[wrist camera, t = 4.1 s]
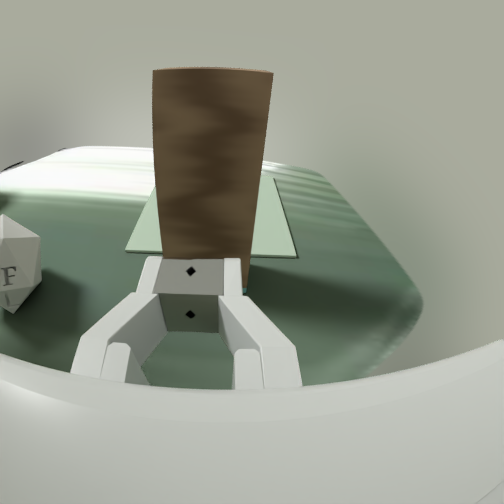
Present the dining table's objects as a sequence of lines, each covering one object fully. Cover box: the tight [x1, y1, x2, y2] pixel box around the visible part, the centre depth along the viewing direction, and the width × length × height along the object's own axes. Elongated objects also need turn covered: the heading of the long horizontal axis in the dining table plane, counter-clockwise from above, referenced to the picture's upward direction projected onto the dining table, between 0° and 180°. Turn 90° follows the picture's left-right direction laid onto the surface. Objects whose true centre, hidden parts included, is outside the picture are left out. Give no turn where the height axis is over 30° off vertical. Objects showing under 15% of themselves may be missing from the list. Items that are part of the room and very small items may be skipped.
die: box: [0, 214, 42, 314], centre depth 18 cm, size 8×9×10 cm
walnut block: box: [152, 67, 273, 293], centre depth 20 cm, size 7×4×18 cm, turn 94°
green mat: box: [125, 175, 296, 258], centre depth 36 cm, size 18×20×1 cm
